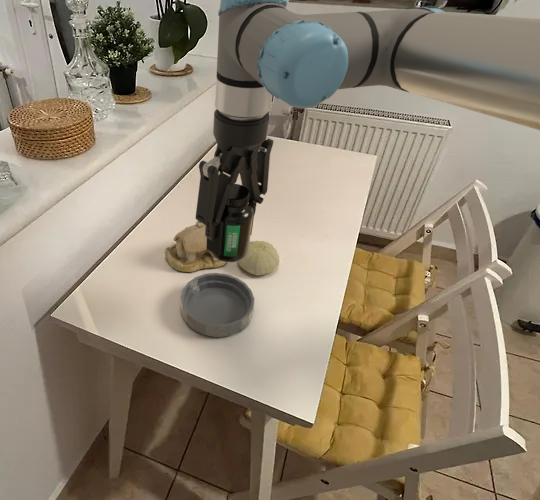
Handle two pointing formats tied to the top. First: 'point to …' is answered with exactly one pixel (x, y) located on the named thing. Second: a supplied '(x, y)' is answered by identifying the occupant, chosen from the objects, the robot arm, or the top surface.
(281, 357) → the top surface
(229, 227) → the supplement bottle
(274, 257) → the sea urchin shell
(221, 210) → the robot arm
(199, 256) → the ceramic model
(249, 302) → the dish
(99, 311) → the top surface
